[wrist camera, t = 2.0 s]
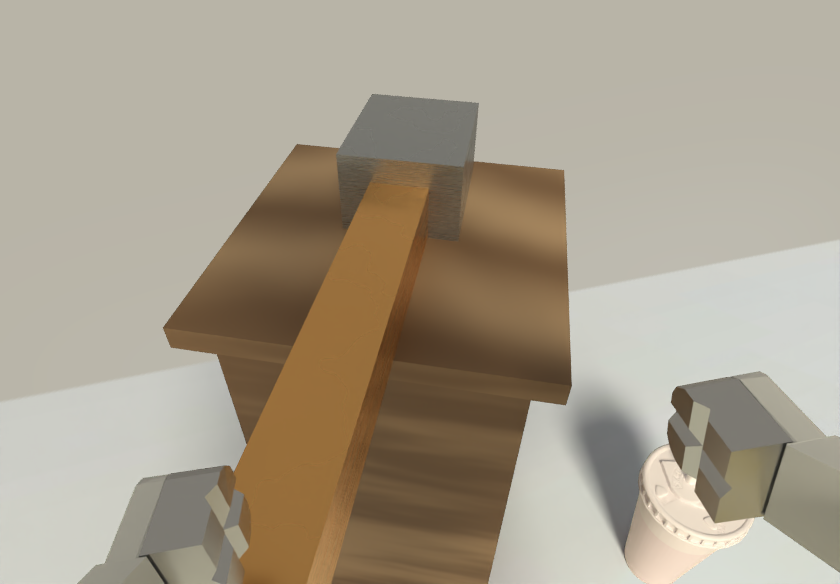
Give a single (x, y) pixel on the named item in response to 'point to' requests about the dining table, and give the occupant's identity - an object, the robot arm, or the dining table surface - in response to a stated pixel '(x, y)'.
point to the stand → (407, 355)
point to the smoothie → (673, 523)
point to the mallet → (352, 333)
